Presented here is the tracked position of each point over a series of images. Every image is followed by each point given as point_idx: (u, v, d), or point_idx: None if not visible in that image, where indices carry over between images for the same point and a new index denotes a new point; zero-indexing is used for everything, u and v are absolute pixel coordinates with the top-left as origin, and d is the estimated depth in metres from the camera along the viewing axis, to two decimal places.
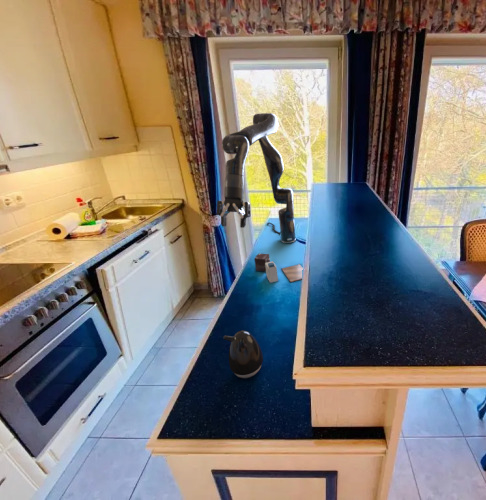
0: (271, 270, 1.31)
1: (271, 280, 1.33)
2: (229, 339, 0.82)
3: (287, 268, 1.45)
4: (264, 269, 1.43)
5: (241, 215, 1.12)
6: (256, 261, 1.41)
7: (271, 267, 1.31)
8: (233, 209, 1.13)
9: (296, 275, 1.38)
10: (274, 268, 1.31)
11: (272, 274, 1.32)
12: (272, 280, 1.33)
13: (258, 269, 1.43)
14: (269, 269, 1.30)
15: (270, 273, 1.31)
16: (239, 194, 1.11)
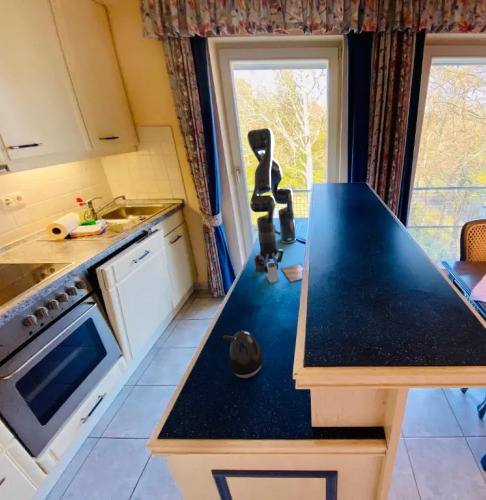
0: (271, 270, 1.31)
1: (271, 280, 1.33)
2: (229, 339, 0.82)
3: (287, 268, 1.45)
4: None
5: (275, 262, 1.32)
6: (256, 261, 1.41)
7: (271, 267, 1.31)
8: (269, 256, 1.30)
9: (296, 275, 1.38)
10: (274, 268, 1.31)
11: (272, 274, 1.32)
12: (272, 280, 1.33)
13: (258, 269, 1.43)
14: (269, 269, 1.30)
15: (270, 273, 1.31)
16: None
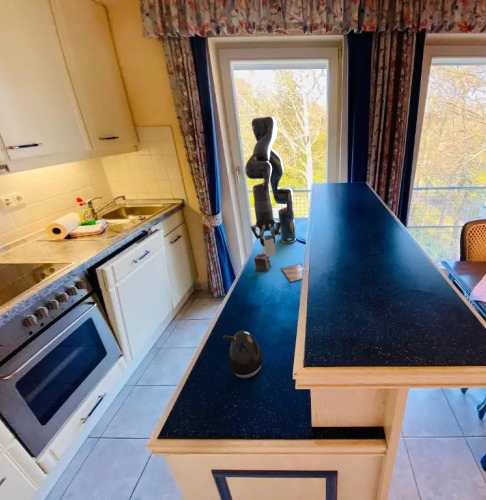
0: (268, 243, 1.25)
1: (268, 254, 1.27)
2: (229, 339, 0.82)
3: (287, 268, 1.45)
4: (264, 269, 1.43)
5: (272, 234, 1.26)
6: (256, 261, 1.41)
7: (268, 239, 1.24)
8: (266, 228, 1.24)
9: (296, 275, 1.38)
10: (271, 241, 1.25)
11: (269, 247, 1.26)
12: (269, 254, 1.27)
13: (258, 269, 1.43)
14: (266, 241, 1.24)
15: (267, 246, 1.25)
16: None
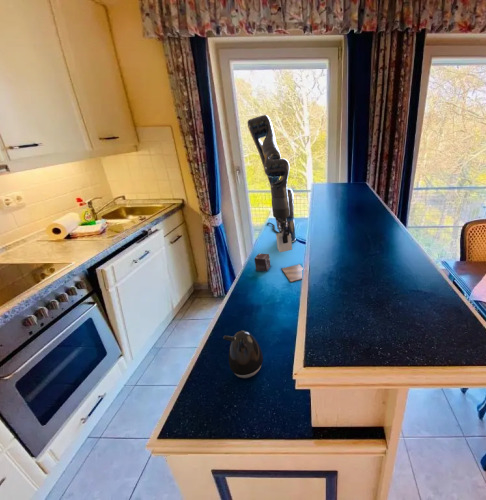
0: None
1: None
2: (229, 339, 0.82)
3: (287, 268, 1.45)
4: (264, 269, 1.43)
5: None
6: (256, 261, 1.41)
7: (289, 233, 1.30)
8: None
9: (296, 275, 1.38)
10: None
11: None
12: None
13: (258, 269, 1.43)
14: None
15: None
16: None
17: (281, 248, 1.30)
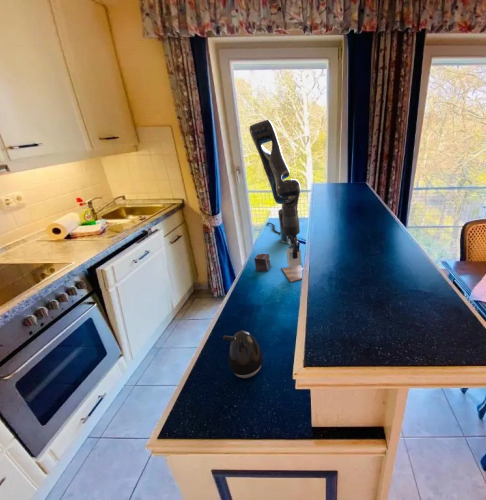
0: None
1: None
2: (229, 339, 0.82)
3: (287, 268, 1.45)
4: (264, 269, 1.43)
5: None
6: (256, 261, 1.41)
7: None
8: None
9: (296, 275, 1.38)
10: None
11: None
12: None
13: (258, 269, 1.43)
14: None
15: None
16: None
17: (291, 263, 1.35)
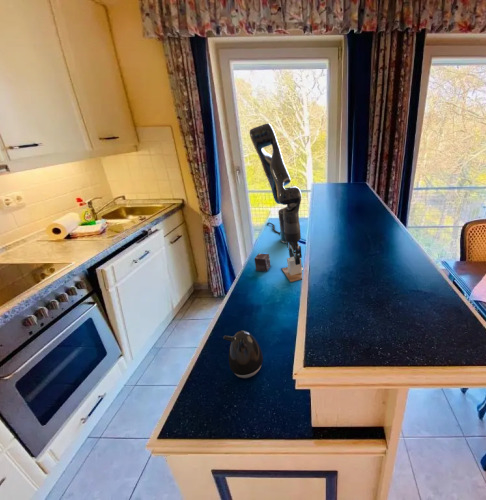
0: None
1: None
2: (229, 339, 0.82)
3: (287, 268, 1.45)
4: (264, 269, 1.43)
5: None
6: (256, 261, 1.41)
7: None
8: None
9: (296, 275, 1.38)
10: None
11: None
12: None
13: (258, 269, 1.43)
14: None
15: None
16: None
17: (292, 272, 1.37)
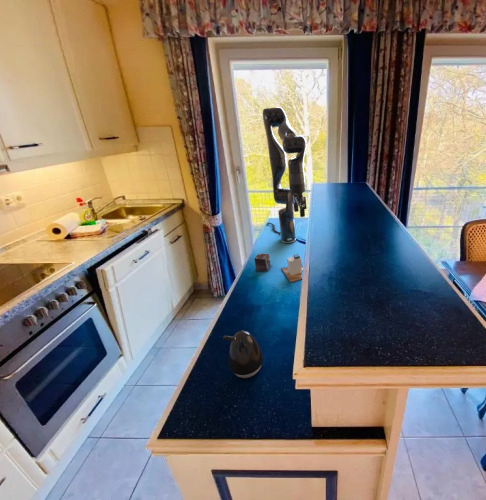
0: None
1: None
2: (229, 339, 0.82)
3: (287, 268, 1.45)
4: (264, 269, 1.43)
5: None
6: (256, 261, 1.41)
7: (299, 257, 1.38)
8: None
9: (296, 275, 1.38)
10: None
11: None
12: None
13: (258, 269, 1.43)
14: None
15: None
16: None
17: (292, 272, 1.37)
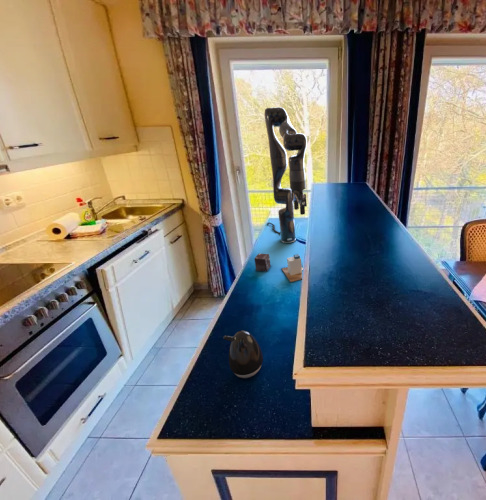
0: None
1: None
2: (229, 339, 0.82)
3: (287, 268, 1.45)
4: (264, 269, 1.43)
5: None
6: (256, 261, 1.41)
7: (299, 257, 1.38)
8: None
9: (296, 275, 1.38)
10: None
11: None
12: None
13: (258, 269, 1.43)
14: None
15: None
16: None
17: (292, 272, 1.37)
